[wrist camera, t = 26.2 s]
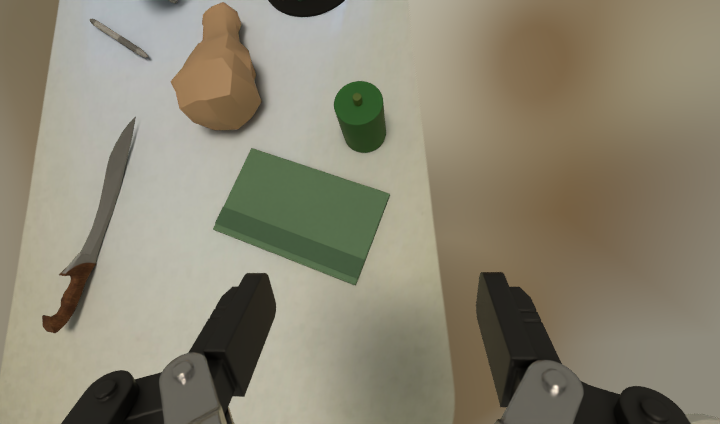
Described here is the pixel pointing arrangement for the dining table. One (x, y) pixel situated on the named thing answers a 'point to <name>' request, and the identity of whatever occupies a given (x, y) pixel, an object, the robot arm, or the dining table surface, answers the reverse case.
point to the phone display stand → (305, 6)
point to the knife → (93, 234)
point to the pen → (119, 38)
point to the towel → (303, 214)
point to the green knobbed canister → (361, 116)
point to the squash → (218, 75)
